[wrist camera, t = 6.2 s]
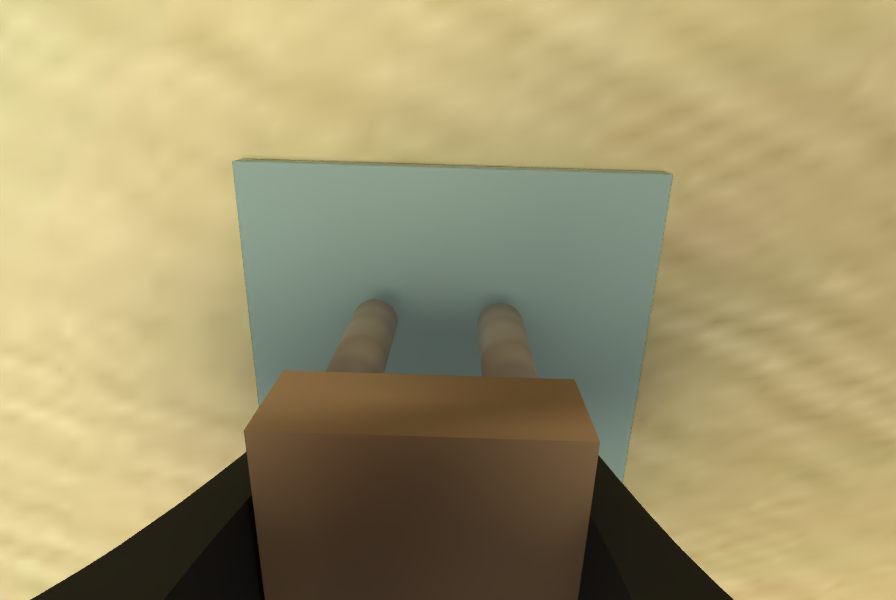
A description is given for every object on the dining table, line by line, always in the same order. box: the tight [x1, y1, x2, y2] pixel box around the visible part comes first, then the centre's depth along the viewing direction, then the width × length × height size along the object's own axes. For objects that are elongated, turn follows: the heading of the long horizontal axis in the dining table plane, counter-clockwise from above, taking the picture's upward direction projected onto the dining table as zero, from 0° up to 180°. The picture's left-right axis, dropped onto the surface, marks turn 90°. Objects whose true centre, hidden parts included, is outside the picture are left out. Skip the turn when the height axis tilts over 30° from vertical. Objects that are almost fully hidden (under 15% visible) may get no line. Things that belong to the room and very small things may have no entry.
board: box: [232, 159, 673, 483], centre depth 14 cm, size 10×10×1 cm
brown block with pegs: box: [244, 299, 600, 600], centre depth 10 cm, size 4×4×6 cm
